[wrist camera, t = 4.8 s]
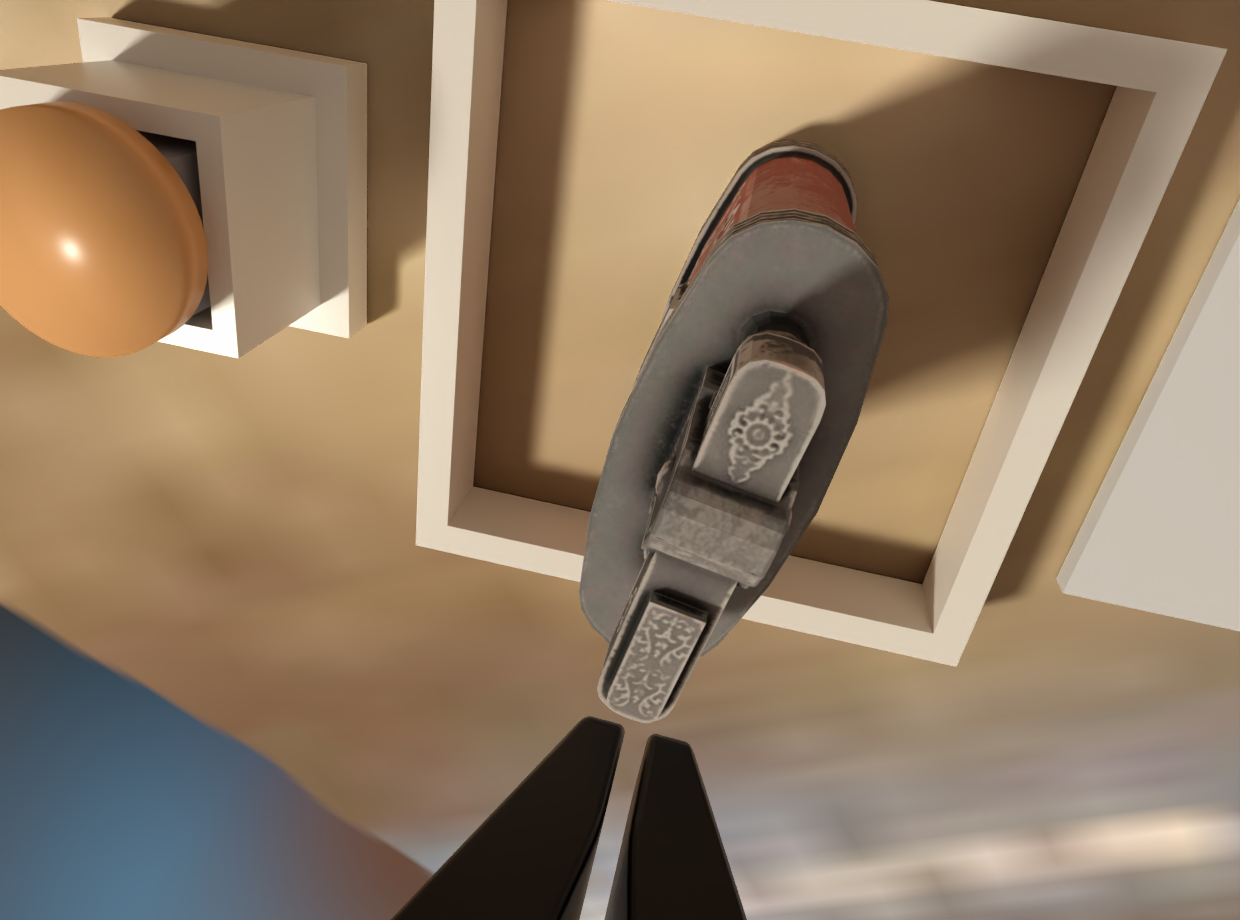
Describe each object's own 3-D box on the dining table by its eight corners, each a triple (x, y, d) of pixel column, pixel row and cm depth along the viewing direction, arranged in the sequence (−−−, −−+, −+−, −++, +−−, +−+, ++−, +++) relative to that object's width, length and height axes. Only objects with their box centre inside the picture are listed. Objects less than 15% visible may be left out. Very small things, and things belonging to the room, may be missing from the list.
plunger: (102, 67, 18) (-80, 85, 15) (300, 103, 18) (166, 131, 14) (130, 270, 20) (-23, 332, 17) (307, 305, 20) (193, 378, 16)
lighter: (738, 114, 18) (687, 224, 9) (891, 174, 18) (983, 338, 9) (616, 436, 22) (501, 724, 13) (741, 485, 22) (708, 804, 13)
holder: (89, -134, 18) (-108, -172, 14) (1180, 43, 16) (1305, 57, 12) (164, 443, 25) (44, 528, 21) (943, 615, 23) (975, 744, 19)
